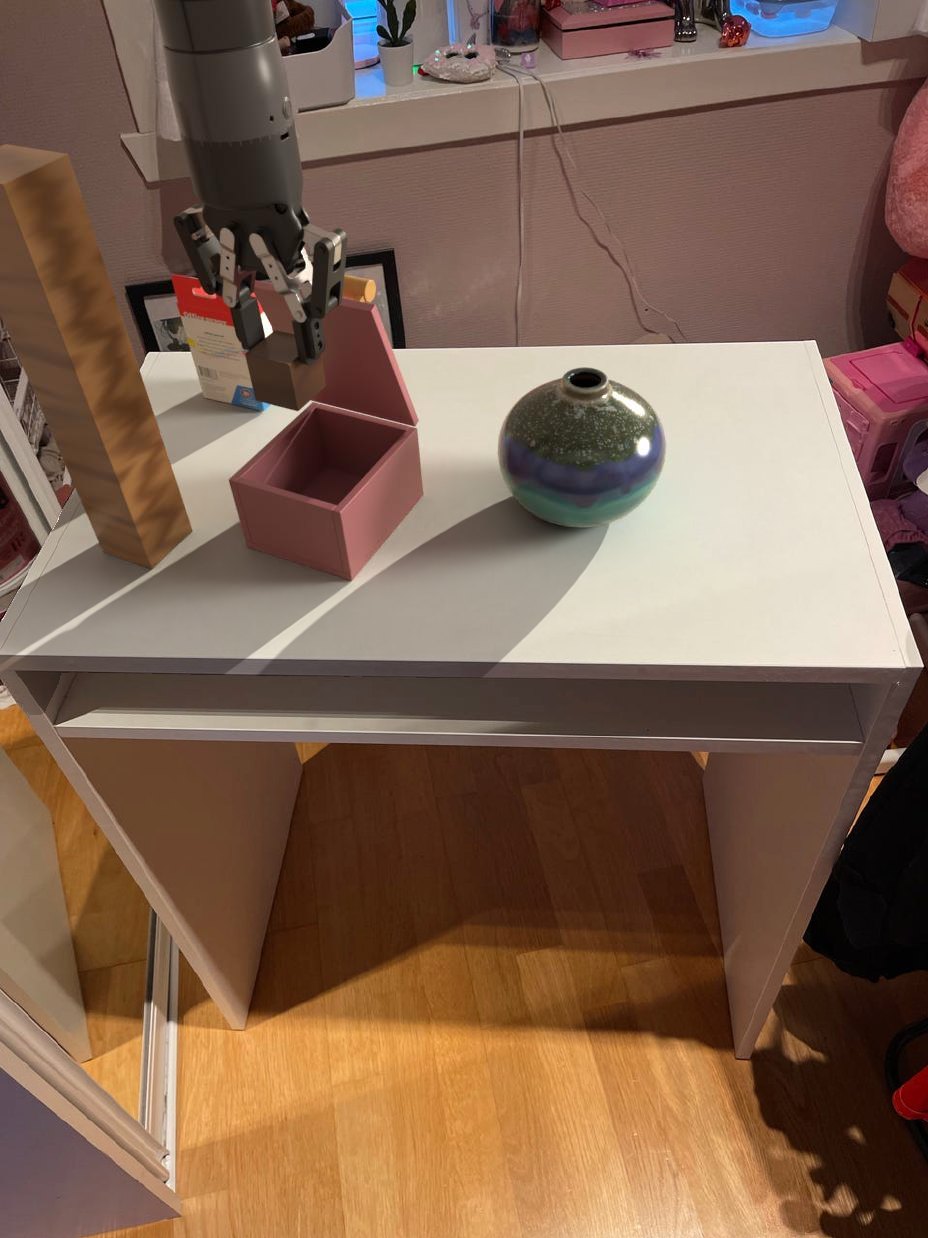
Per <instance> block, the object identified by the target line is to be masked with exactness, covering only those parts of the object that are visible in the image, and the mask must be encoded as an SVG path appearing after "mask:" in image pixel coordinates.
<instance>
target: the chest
mask: <svg viewBox="0 0 928 1238" xmlns="http://www.w3.org/2000/svg"><path fill="white" fill-rule="evenodd" d="M418 431H419V430H418V428H417V427H414V426H410V425H406V424H402V423H398V422H394V421H390V420H386V419H382V418H378V417H374V416H370V415H366V414H362V413H358V412H354V411H350V410H346V409H342V408H338V407H335V406H331V405H327V404H323V403H319V402H315V401H311V403H310V404H309V405H308V406H307V407H306V408H304V409H303V411H301V412H300V413H299V414H298V415H296V417H295V418H294V419H293V420H291V421H290V422H289V423H288V424H287V425H286V426H285V427H284V428H283V429H282V430H280V432H279V433H278V434H276V435H275V436H274V437H273V438H271V440H270V441H269V442H267V444H266V445H264V446H263V447H262V448H261V449H260V450H259V451H258V452H256V454H254V455H253V456H252V457H251V458H250V459H249V460H248V461H247V462H245V464H244V465H243V466H241V468H239V469H238V470H237V471H236V472H235V473H234V474H233V475H232V476H231V477H230V478H228V483H229V487H230V491H231V494H232V498H233V500H234V501H233V502H234V505H235V509H236V513H237V516H238V519H239V522H240V526H241V529H242V533H243V536H244V540H245V544H246V547H248V548H251V549H253V550H256V551H259V552H263V553H264V554H265V553H266V554H268V555H272V556H275V557H278V558H281V559H283V560H286V561H290V562H293V563H297V564H299V565H302V566H305V567H309V568H311V569H314V570H317V571H321V572H324V573H327V574H330V575H333V576H335V577H339V578H343V579H345V580H348V581H351V582H352V581H353V580H354V579H355V578H356V577H357V576H358V575H359V573H360V572H361V571H362V570H363V568H364V567H365V566H366V565H367V564H368V562H369V561H370V560H372V558H373V556H374V555H375V554H377V552H378V551H379V549H380V548H381V547H382V546H383V544H384V543H386V541H387V540H388V539H389V537H390V536H391V535H392V533H393V532H394V531H395V530H397V527H398V526H399V525H400V524H401V523H402V522H403V520H404V519H405V518H406V517H407V515H409V513H410V512H411V510H412V509H413V508H414V507H415V506H416V505H417V504H418V502H419V501H420V500H421V499H422V497H423V496H424V488H423V486H424V485H423V476H422V465H421V454H420V444H419V443H420V442H419V432H418Z"/></svg>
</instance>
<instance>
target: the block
mask: <svg viewBox="0 0 928 1238" xmlns="http://www.w3.org/2000/svg"><path fill="white" fill-rule="evenodd" d="M245 357H246V361H247V366H248V370H249V374H250V378H251V383H252V387H253V391H254V396H255V400H256V401H259V402H263V403H267V404H271V405H270V406H275V407H279V408H283V409H287V410H291V411H295V412H300V411H301V410H302V409H303V408H304V407H305V406H306V405H307V404H308V403H309V402H311V399H312V398H313V397H314V396H316V395H317V394H318V393H319V392H320V391H321V390H322V389H323V388H324V387H325V386H326V383H325V377H324V371H323V365H322V359H321V356H320V357H319V358H318V359H317V360H316V361H315V362H314V363H312V364H311V365H305V364H301V363H300V361H299V357H298V352H297V346H296V341H295V336H294V334H290V333H286V332H281V331H277V330H275V331H274V330H273V332H272V333H271V334H270V335H268V336H267V337H266V338H265V339H263V340H262V341H261V342H260V343H258V344H257V345H256V346H255V347H253V348H252V349H251V350H249V351H248V352H247V353H246V354H245Z"/></svg>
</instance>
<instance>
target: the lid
mask: <svg viewBox="0 0 928 1238" xmlns="http://www.w3.org/2000/svg"><path fill="white" fill-rule="evenodd" d="M299 292H300V295H301V297H302V299H303V300H304V299H305V298H304V296H303V294H302V292H301V290H300V288H299ZM253 293H254V294H255V296H256V297H257V300H258V302H259V304H260V305H261V307H262V309H263V311H264V313H265V315H266V317H267V319H268V321H269V323H270V324H271V327H272V331H273V332H274V331H275V330H277V331H281V332H286V333H290V334H294V330H293V325H292V321H293V320H294V317H293V315H292V313H291V311H290V309H289V307H288V305H287V303H286V300H285V298H284V296H283V295H282V294H278V293H277V292H276V290H275V288H274V286H273V284H272V282H266V281H261V280H256V279H255V286H254V292H253ZM376 293H377V286H376V283H375V281H374V280H373V279H369V278H363V277H358V276H354V275H348V274H344V286H343V298H342V303H341V304H340V305H338V306H337V307H335V308H334V309H333V310H332V311H330V312H329V313H328V314H327V315H326V316H325V317H324V318H323V319H321V321H322V327H323V334H324V339H325V345H326V346H325V350H324V352H323V353H322V354H321V359H322V365H323V371H324V377H325V383H326V386H325V387H324V388H323V389H322V390H321V391H320V392H319V393H318V394H317V395H316V396H314V397H313V398H312V399H311V400H310V402H315V403H319V404H323V405H327V406H331V407H335V408H339V409H343V410H347V411H351V412H355V413H359V414H363V415H367V416H371V417H375V418H379V419H383V420H387V421H391V422H395V423H399V424H403V425H407V426H410V427H414V428H416V427H417V425H418V423H419V417H418V414H417V412H416V408H415V407H414V404H413V401H412V398H411V395H410V393H409V391H408V387H407V385H406V382H405V380H404V376H403V374H402V372H401V369H400V367H399V364H398V361H397V358H396V356H395V353H394V350H393V348H392V345H391V342H390V339H389V336H388V334H387V332H386V329H385V327H384V324H383V320H382V319H381V315H380V313H379V310H378V307H377V305H376V304H375V303H371V302H373V301H374V299H375V297H376Z"/></svg>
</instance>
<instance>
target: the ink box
mask: <svg viewBox="0 0 928 1238" xmlns="http://www.w3.org/2000/svg"><path fill="white" fill-rule="evenodd" d="M171 282H172V286H173V290H174V293H175V297H176V306H177V309H178V313H179V316H180V320H181V322H182V327H183V329H184V333H185V336H186V340H187V343H188V347H189V350H190V353H191V357H192V361H193V365H194V367H195V370H196V374H197V377H198V381H199V385H200V386H201V387H200V388H201V391H202V394H203V397H204V398H206V399H208V400H209V399H210V400H213V401H218V402H221V403H226V404H230V405H235V406H239V407H243V408H246V409H247V408H248V409H252V410H256V411H261V412H265V411H266V410H267V409H268V408H269V407H270V406H272V405H271V404H267V403H263V402H259V401H256V400H255V396H254V391H253V387H252V383H251V378H250V374H249V370H248V366H247V361H246V357H245V354H246V353H247V352H248V351H247V350H244V349H243V348H242V345H241V342H239V340H238V338H237V336H236V333H235V328H234V325H233V324H234V323H233V320H232V316H231V312H230V308H229V306H227V305H226V304H225V303H224V301H223V298H222V297H220V296H219V295H217V294H213V295H208V294H207V293H205V291H204V290H203V288H202V286H201V284H200V282H199V279H198V277H194V276H193V277H192V276H186V275H181V274H175V273H171ZM251 296H253V297H256V296H255V294H254V292H253V293H252V294H251ZM258 305H259V309H260V314H261V319H262V323H263V328H264V333H265V338H266V337H267V336H268V335H270V334H271V333H272V332H274V330H273V328H272V326H271V324H270V323H269V321H268V319H267V317H266V315H265V313H264V311H263V309H262V307H261V305H260V304H259V302H258Z"/></svg>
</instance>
